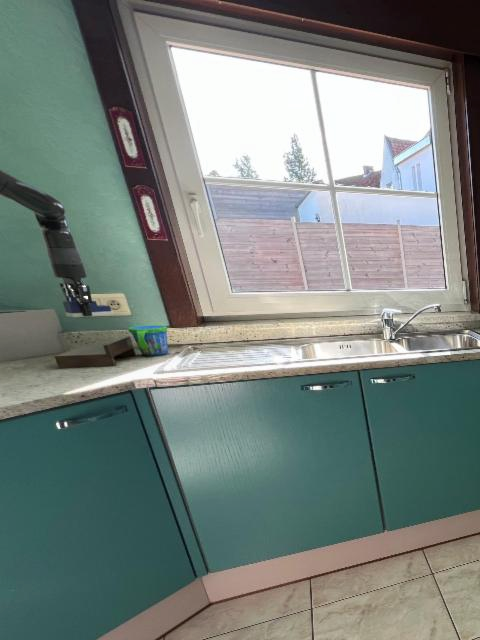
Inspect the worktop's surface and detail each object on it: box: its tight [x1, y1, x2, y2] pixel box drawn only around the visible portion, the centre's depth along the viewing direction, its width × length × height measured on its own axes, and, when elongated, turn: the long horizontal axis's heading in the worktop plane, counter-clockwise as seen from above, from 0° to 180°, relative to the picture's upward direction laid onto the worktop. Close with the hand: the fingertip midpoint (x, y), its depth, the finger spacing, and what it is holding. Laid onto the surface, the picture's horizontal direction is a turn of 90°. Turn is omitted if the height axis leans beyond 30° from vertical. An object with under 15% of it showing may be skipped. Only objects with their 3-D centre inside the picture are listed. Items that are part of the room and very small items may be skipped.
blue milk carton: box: [62, 300, 115, 318], centre depth 169 cm, size 11×5×5 cm, turn 156°
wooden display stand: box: [54, 335, 137, 369], centre depth 170 cm, size 14×20×7 cm
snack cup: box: [128, 324, 169, 357], centre depth 183 cm, size 16×10×10 cm
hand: (84, 315), depth 168 cm, fingers closed on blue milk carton, 4 cm apart
